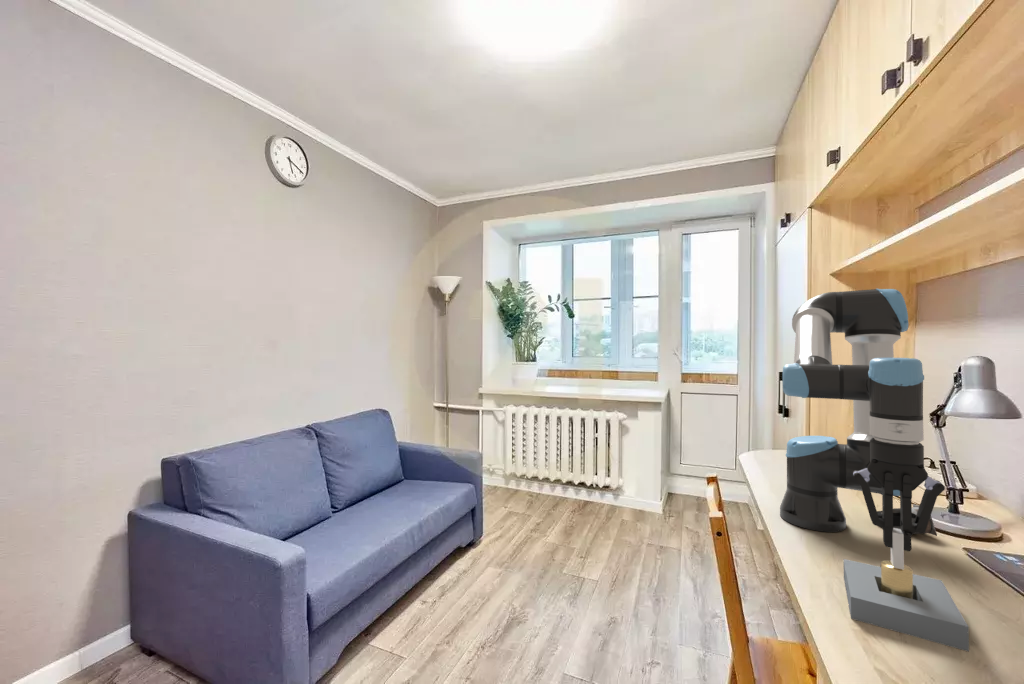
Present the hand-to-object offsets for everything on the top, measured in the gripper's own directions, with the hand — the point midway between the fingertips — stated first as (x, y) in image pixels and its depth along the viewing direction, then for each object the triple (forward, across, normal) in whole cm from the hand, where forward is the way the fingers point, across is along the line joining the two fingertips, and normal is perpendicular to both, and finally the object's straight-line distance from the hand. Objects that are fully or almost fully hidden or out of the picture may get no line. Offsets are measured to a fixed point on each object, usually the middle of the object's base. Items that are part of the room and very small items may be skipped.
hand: (897, 565), depth 80 cm
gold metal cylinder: (+8, 0, 0) cm, 8 cm away
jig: (+8, 0, 0) cm, 8 cm away
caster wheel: (+9, +7, +45) cm, 46 cm away
